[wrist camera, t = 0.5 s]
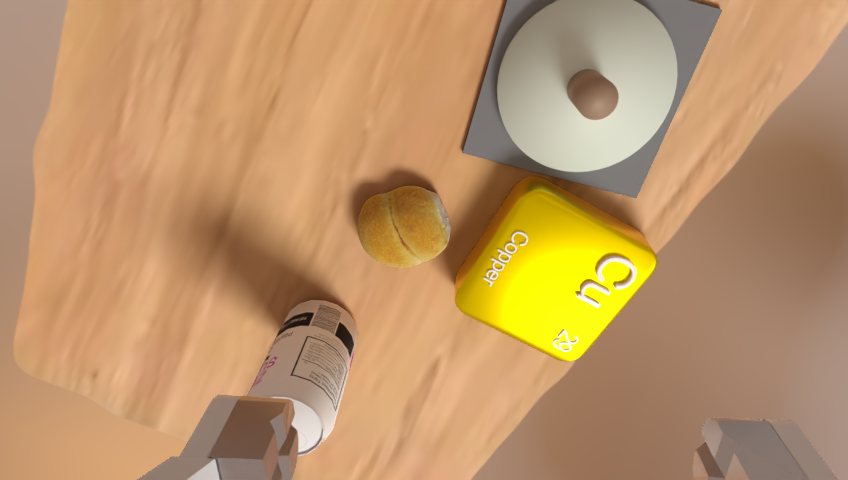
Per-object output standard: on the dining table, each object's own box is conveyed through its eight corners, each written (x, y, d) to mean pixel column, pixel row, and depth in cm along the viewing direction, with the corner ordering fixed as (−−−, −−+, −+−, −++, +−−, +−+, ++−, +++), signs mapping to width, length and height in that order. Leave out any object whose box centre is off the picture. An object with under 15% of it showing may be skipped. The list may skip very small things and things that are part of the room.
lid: (529, -31, 45) (537, -30, 40) (704, 19, 45) (734, 25, 41) (476, 145, 51) (477, 164, 46) (630, 185, 52) (648, 208, 47)
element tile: (525, 166, 53) (530, 184, 48) (653, 237, 55) (670, 260, 51) (447, 284, 59) (446, 309, 55) (566, 343, 61) (574, 372, 57)
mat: (520, -47, 44) (521, -48, 44) (720, 9, 45) (722, 9, 45) (462, 151, 52) (462, 152, 52) (635, 196, 53) (636, 198, 53)
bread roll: (347, 201, 55) (339, 218, 52) (431, 172, 53) (429, 187, 50) (379, 270, 58) (374, 290, 55) (460, 245, 57) (460, 264, 53)
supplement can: (361, 358, 63) (334, 463, 50) (289, 355, 64) (243, 458, 50) (357, 298, 60) (328, 393, 46) (282, 294, 60) (231, 389, 47)
